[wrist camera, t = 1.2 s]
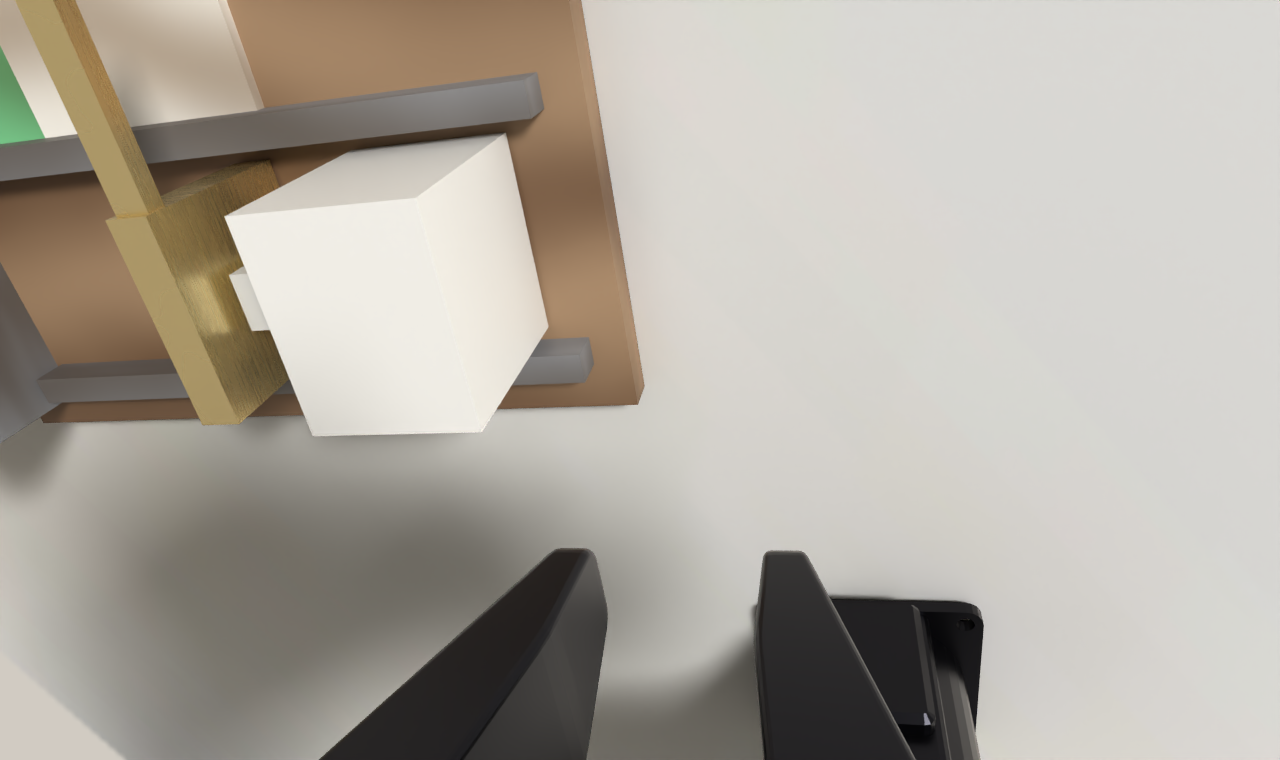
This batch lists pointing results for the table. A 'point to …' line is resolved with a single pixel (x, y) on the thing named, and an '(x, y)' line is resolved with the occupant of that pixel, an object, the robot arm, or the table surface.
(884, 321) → the table surface
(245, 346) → the brushed brass plate
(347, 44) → the base
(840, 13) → the table surface
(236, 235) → the ivory matte cube
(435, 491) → the table surface
